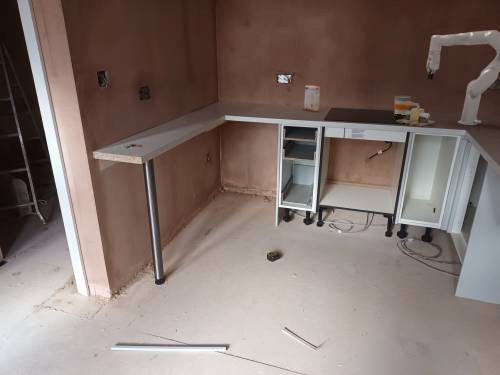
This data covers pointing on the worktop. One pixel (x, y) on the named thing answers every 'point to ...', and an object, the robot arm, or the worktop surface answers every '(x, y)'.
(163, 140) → the worktop surface
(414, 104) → the valve lever
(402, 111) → the reusable coffee cup
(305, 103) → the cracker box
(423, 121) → the valve board
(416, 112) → the ball valve
